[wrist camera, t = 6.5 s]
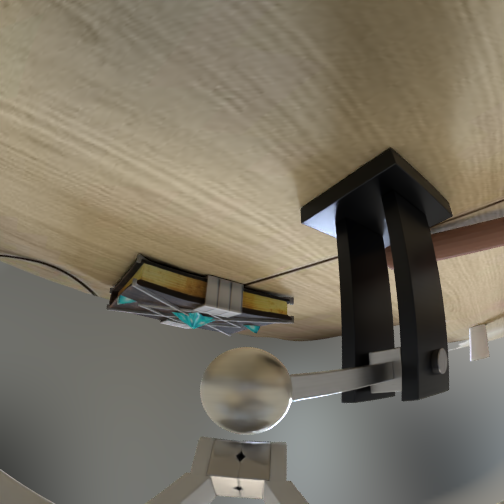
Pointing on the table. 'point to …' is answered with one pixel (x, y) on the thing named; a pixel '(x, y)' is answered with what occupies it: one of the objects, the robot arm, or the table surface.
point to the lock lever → (282, 386)
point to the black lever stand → (376, 271)
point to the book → (195, 300)
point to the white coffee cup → (478, 342)
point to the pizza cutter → (464, 240)
